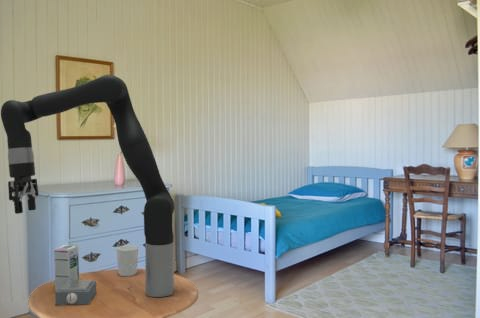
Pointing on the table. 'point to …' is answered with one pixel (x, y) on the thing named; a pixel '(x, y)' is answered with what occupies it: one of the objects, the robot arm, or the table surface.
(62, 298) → the scale
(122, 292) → the table surface
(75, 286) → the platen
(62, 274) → the syrup box
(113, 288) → the table surface
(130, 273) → the white cup
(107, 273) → the table surface
